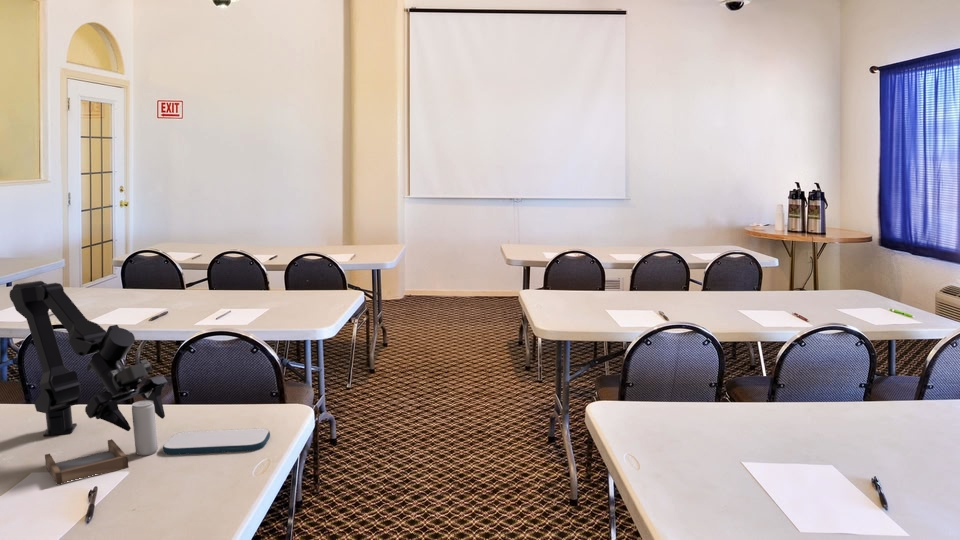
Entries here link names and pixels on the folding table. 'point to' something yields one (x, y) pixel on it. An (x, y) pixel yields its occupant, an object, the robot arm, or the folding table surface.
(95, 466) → the bay
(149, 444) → the beverage can
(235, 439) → the external hard drive
